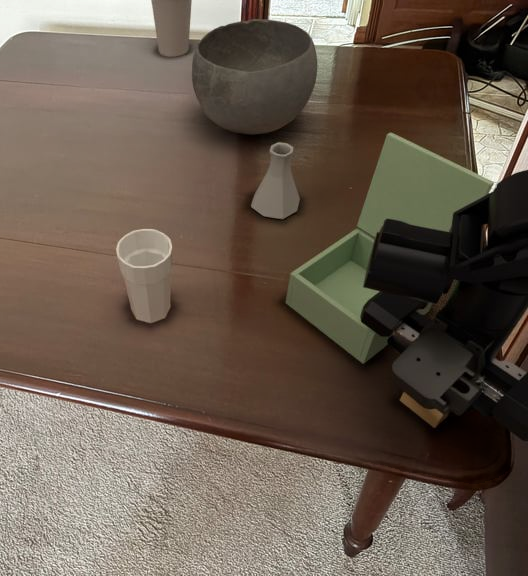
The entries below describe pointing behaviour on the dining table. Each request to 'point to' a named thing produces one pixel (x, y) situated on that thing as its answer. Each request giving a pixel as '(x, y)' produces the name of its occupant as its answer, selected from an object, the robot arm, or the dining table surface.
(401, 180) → the lid
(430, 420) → the block
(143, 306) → the cup
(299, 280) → the file box
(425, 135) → the dining table surface
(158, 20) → the coffee cup
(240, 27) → the bowl
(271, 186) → the flask
